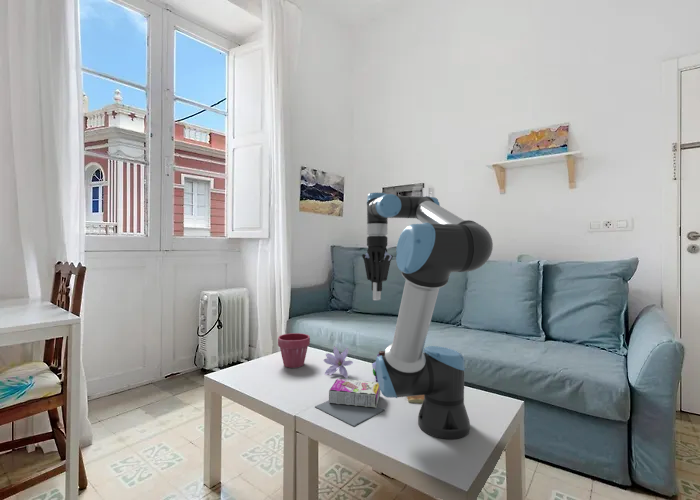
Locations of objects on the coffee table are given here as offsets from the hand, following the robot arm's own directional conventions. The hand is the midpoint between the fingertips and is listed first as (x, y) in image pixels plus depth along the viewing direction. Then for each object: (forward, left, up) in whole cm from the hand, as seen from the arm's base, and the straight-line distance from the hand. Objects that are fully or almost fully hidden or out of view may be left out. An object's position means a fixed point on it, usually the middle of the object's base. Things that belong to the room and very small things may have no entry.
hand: (376, 299), depth 131 cm
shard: (-12, -6, -35) cm, 38 cm away
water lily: (+24, -3, -35) cm, 42 cm away
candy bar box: (+8, +15, -32) cm, 36 cm away
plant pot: (+46, +3, -35) cm, 58 cm away
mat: (-2, +16, -34) cm, 38 cm away
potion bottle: (+5, -10, -35) cm, 36 cm away
